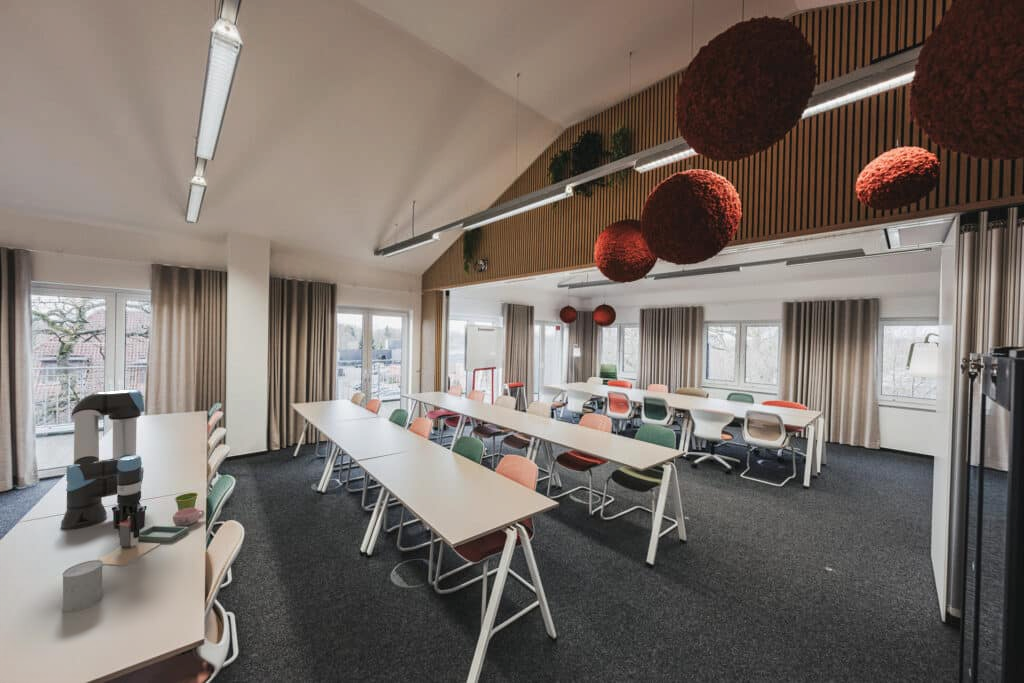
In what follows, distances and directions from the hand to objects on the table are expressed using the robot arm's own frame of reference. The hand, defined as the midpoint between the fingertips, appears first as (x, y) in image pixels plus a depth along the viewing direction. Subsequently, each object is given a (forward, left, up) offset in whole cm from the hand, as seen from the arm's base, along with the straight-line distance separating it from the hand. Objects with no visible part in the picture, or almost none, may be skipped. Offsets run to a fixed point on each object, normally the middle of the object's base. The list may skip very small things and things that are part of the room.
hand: (129, 544), depth 170 cm
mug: (+7, +23, -2) cm, 24 cm away
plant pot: (-3, +33, -2) cm, 33 cm away
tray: (+5, +10, -1) cm, 11 cm away
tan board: (+4, -4, -1) cm, 6 cm away
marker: (0, 0, -1) cm, 1 cm away
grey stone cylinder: (+18, -33, -2) cm, 37 cm away
